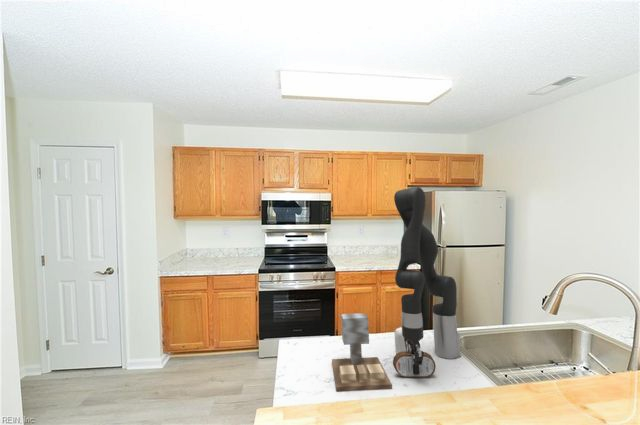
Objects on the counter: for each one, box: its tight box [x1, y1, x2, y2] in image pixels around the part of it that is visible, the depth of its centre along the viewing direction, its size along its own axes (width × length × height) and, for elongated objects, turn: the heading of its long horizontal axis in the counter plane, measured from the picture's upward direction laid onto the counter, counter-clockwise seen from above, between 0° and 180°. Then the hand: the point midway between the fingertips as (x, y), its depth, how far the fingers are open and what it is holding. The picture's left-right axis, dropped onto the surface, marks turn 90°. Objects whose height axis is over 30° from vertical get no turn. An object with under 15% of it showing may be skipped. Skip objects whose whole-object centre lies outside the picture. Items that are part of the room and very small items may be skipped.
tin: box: [392, 351, 437, 379], centre depth 100 cm, size 15×3×8 cm, turn 85°
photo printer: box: [394, 326, 406, 355], centre depth 116 cm, size 10×4×12 cm, turn 104°
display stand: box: [331, 312, 393, 392], centre depth 103 cm, size 19×20×20 cm
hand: (414, 371), depth 100 cm, fingers closed on tin, 3 cm apart
